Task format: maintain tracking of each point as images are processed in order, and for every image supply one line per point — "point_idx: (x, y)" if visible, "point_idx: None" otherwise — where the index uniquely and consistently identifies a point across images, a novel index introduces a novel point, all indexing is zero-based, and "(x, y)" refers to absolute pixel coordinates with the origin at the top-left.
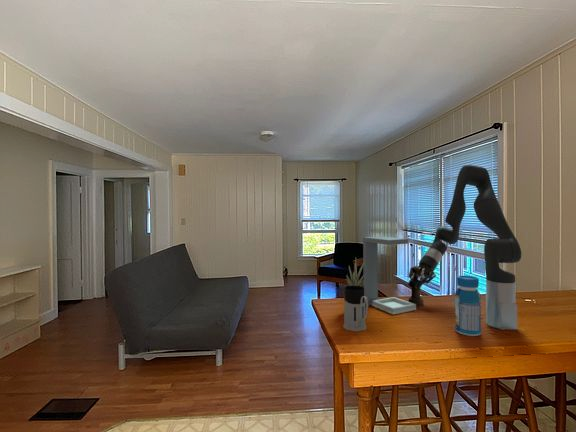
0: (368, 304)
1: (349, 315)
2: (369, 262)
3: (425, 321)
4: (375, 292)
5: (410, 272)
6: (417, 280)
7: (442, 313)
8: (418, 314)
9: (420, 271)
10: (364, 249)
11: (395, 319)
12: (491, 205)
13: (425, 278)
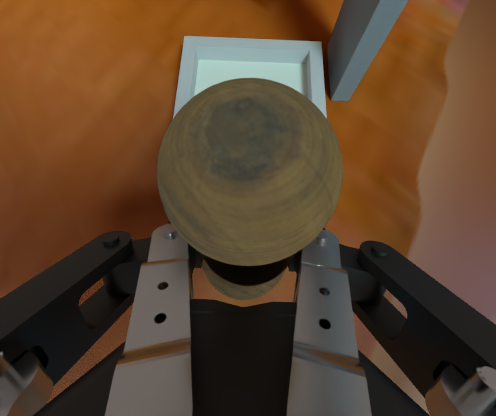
0: (329, 53)
1: None
2: None
3: (65, 95)
4: (353, 37)
5: (439, 298)
6: (256, 274)
7: (67, 237)
8: (130, 134)
9: (258, 370)
10: None
11: (149, 31)
12: None
13: (99, 253)
